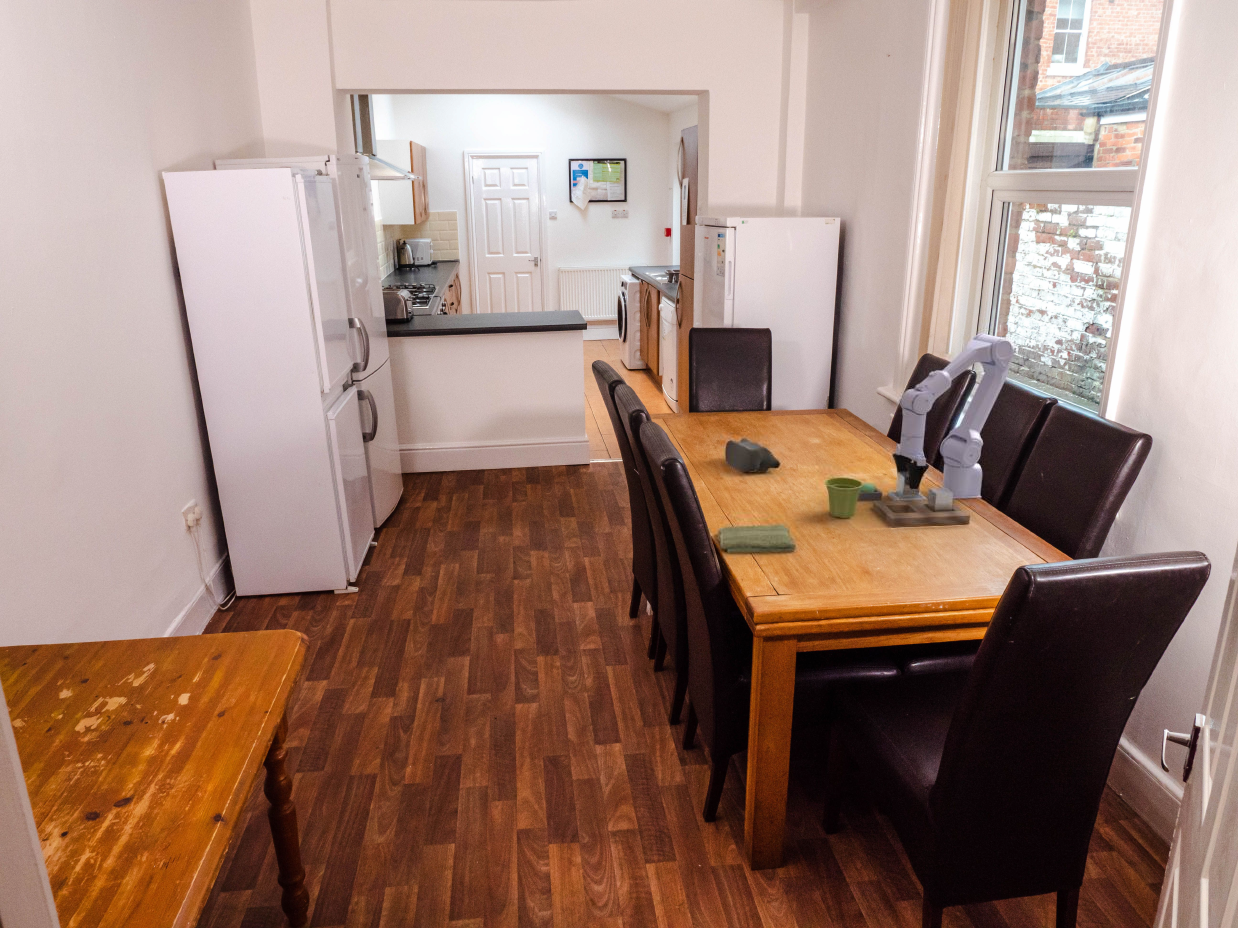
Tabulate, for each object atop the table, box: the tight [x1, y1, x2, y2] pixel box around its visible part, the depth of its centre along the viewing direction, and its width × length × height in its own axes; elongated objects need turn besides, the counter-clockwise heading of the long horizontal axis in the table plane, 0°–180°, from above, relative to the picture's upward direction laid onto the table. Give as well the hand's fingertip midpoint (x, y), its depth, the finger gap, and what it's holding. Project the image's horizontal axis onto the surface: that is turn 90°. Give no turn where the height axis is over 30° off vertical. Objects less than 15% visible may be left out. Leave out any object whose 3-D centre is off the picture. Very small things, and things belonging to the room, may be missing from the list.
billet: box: [895, 472, 921, 499], centre depth 234 cm, size 4×4×7 cm
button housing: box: [858, 486, 883, 502], centre depth 237 cm, size 6×6×2 cm
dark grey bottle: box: [724, 437, 781, 474], centre depth 264 cm, size 18×11×8 cm, turn 24°
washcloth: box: [717, 523, 797, 554], centre depth 206 cm, size 13×18×3 cm
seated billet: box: [927, 487, 954, 512], centre depth 222 cm, size 4×4×7 cm
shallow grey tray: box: [887, 490, 928, 501], centre depth 235 cm, size 8×7×2 cm
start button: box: [861, 482, 876, 492], centre depth 237 cm, size 4×4×3 cm
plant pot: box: [824, 477, 863, 519], centre depth 224 cm, size 9×9×9 cm
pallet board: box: [871, 498, 971, 529], centre depth 222 cm, size 20×13×2 cm, turn 95°
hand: (908, 484), depth 234 cm, fingers open, 7 cm apart
